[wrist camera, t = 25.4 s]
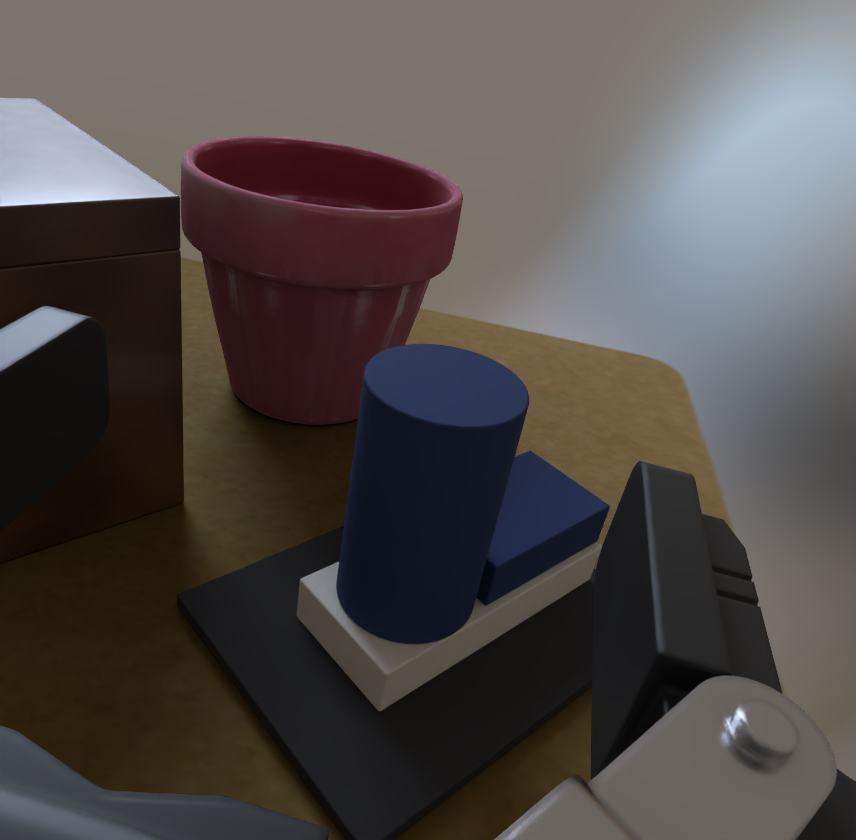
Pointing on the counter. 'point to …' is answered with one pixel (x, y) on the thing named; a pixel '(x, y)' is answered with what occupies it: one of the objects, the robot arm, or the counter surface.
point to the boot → (443, 523)
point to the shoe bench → (96, 312)
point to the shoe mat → (401, 721)
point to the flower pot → (312, 263)
